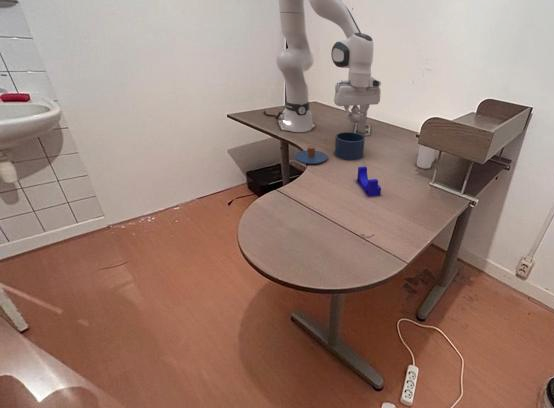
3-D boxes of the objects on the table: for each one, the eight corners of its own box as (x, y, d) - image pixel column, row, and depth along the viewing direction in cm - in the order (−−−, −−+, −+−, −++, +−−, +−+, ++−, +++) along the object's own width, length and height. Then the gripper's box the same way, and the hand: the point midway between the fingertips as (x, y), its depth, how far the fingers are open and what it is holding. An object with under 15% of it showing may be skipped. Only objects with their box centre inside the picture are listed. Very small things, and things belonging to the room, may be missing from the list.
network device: (356, 122, 179) (358, 88, 168) (370, 124, 179) (373, 89, 168) (353, 136, 157) (355, 97, 146) (369, 138, 157) (373, 99, 147)
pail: (330, 151, 137) (330, 133, 132) (354, 148, 143) (355, 130, 139) (343, 162, 128) (344, 143, 123) (368, 158, 134) (370, 140, 130)
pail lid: (289, 154, 130) (289, 143, 127) (319, 150, 136) (319, 140, 134) (302, 167, 120) (301, 155, 117) (333, 162, 127) (333, 151, 124)
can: (419, 161, 135) (424, 136, 129) (432, 165, 133) (438, 140, 126) (413, 166, 130) (418, 140, 124) (427, 170, 128) (433, 144, 121)
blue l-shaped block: (380, 195, 106) (382, 180, 103) (368, 196, 104) (370, 181, 101) (368, 180, 115) (369, 166, 112) (357, 181, 114) (358, 167, 111)
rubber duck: (347, 119, 128) (349, 100, 124) (362, 120, 129) (364, 101, 124) (348, 123, 123) (349, 103, 119) (363, 124, 124) (365, 105, 120)
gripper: (339, 82, 110) (337, 119, 117) (384, 82, 120) (379, 116, 127) (332, 79, 114) (330, 114, 122) (375, 79, 124) (371, 112, 132)
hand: (356, 115), depth 125 cm, fingers closed on rubber duck, 6 cm apart
